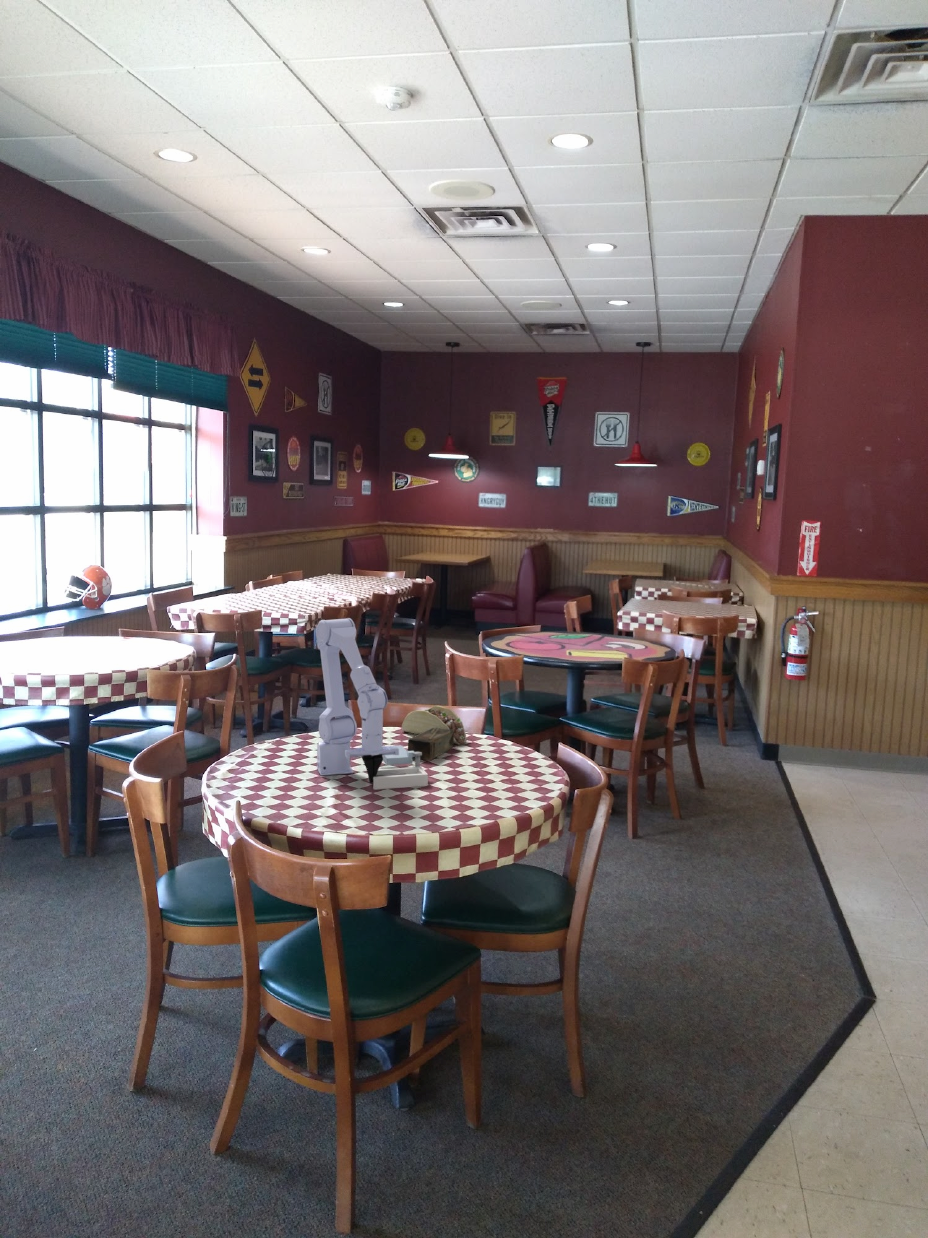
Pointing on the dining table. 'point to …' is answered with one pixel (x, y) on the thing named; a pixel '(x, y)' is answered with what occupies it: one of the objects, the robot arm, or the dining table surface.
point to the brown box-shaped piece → (431, 743)
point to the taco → (435, 722)
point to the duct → (401, 777)
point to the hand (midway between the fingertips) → (371, 781)
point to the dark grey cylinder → (391, 774)
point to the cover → (400, 756)
